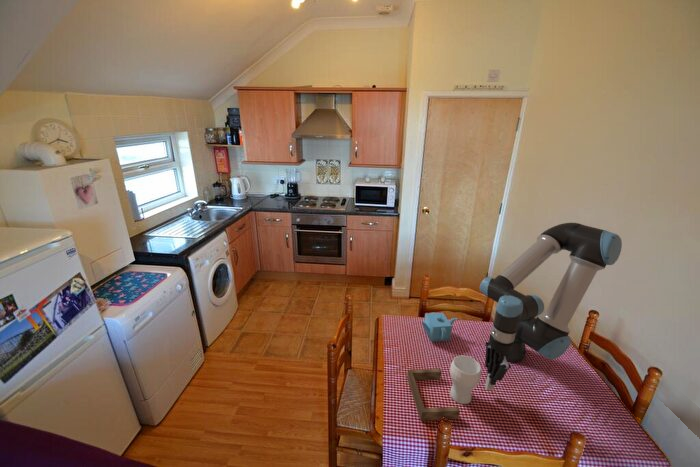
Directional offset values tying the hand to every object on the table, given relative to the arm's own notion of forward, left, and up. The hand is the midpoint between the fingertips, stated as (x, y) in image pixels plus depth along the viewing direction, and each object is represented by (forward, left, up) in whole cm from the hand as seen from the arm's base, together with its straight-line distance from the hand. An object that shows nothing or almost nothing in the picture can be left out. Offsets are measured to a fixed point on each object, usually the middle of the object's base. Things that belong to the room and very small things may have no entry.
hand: (489, 388), depth 114 cm
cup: (+11, 0, -3) cm, 11 cm away
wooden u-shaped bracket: (+22, 0, -3) cm, 22 cm away
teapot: (+8, -34, -3) cm, 35 cm away
